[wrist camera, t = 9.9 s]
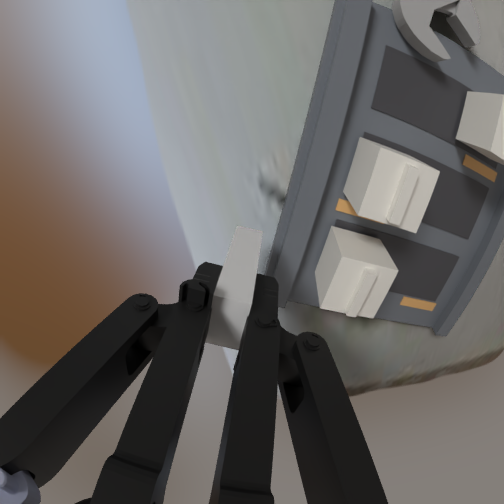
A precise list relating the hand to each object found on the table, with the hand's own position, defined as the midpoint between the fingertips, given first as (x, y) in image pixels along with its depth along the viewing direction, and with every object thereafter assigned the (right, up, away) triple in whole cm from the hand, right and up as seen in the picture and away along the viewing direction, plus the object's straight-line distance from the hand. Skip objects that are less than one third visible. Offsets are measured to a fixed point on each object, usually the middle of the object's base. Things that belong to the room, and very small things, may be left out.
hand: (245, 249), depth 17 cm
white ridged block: (+7, 0, +2) cm, 7 cm away
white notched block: (+16, +8, -4) cm, 18 cm away
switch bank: (+12, +5, +1) cm, 13 cm away
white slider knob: (+8, +5, -1) cm, 9 cm away
